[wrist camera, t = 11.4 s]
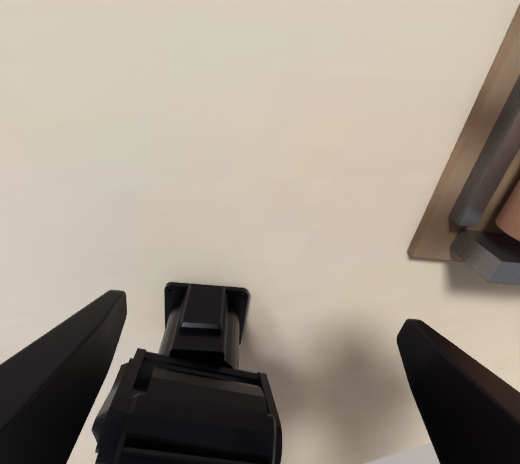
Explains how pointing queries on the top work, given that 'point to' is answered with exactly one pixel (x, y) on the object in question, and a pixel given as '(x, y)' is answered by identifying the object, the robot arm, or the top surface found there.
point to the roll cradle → (480, 178)
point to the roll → (511, 214)
